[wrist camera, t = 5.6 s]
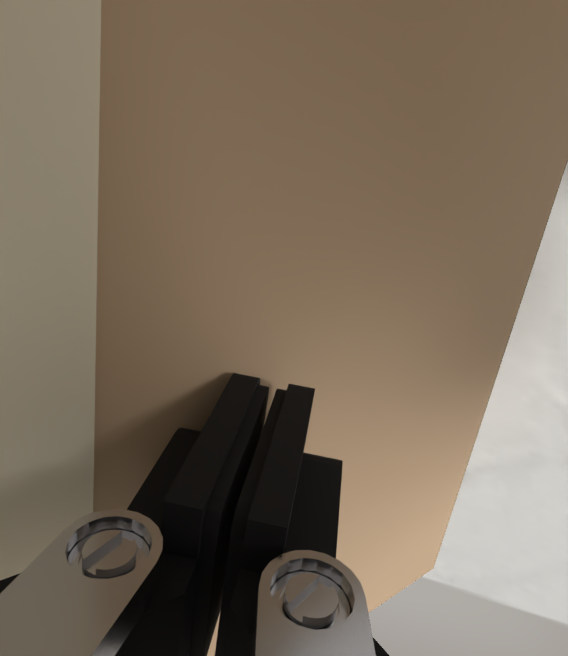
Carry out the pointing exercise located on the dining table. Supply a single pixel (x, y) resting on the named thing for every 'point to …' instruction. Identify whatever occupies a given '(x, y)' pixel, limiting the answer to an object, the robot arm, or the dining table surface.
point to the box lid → (267, 242)
